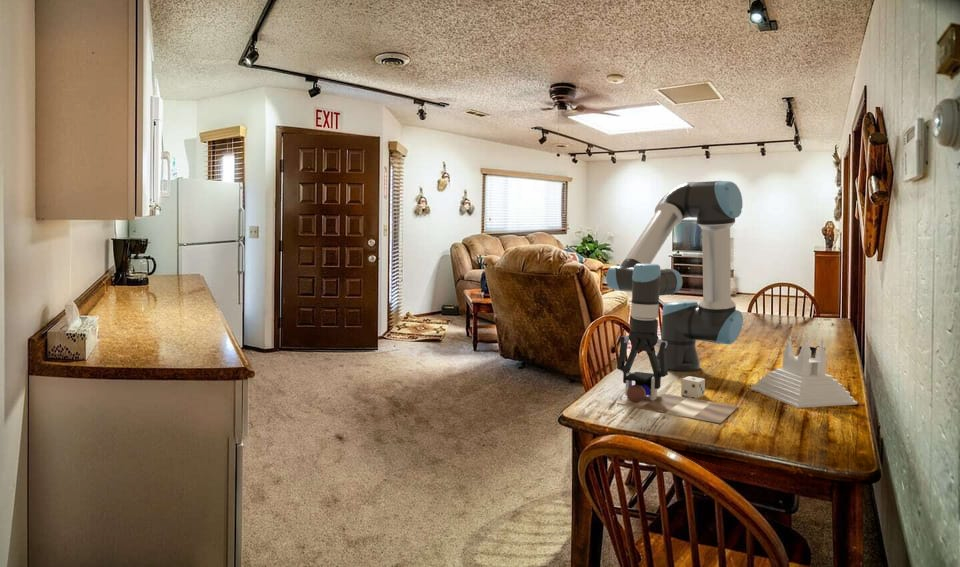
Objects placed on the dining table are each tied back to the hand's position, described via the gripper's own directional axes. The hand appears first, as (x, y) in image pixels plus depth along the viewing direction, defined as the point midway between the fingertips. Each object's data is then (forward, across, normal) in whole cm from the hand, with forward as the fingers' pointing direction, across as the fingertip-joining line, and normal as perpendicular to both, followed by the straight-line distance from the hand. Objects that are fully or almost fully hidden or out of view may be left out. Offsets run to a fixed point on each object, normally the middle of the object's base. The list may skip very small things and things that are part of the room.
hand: (640, 396), depth 178 cm
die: (+1, -11, -14) cm, 17 cm away
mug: (+1, -36, -55) cm, 65 cm away
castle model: (+1, -37, -34) cm, 50 cm away
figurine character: (+1, 0, 0) cm, 1 cm away
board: (+1, -10, 0) cm, 11 cm away
